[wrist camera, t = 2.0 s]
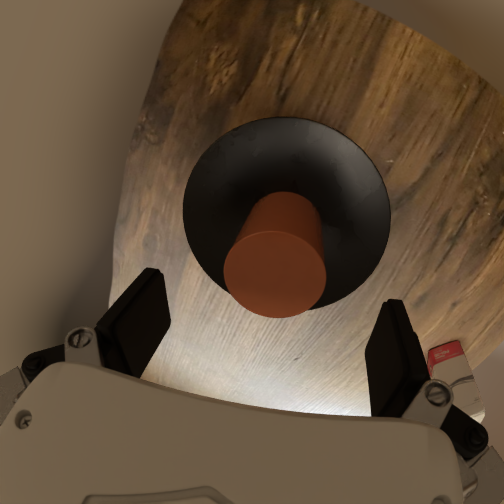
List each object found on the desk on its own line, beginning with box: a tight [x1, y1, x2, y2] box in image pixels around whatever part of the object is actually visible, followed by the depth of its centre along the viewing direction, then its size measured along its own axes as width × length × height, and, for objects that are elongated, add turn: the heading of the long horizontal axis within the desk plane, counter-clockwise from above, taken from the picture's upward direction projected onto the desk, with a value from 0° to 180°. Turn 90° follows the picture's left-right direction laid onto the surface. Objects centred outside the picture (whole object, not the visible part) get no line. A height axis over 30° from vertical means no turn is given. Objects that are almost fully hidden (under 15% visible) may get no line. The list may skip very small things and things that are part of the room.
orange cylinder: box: [224, 192, 326, 318], centre depth 16 cm, size 5×5×6 cm
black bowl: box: [183, 116, 391, 310], centre depth 21 cm, size 14×14×7 cm
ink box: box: [427, 341, 485, 423], centre depth 26 cm, size 9×5×12 cm, turn 22°
